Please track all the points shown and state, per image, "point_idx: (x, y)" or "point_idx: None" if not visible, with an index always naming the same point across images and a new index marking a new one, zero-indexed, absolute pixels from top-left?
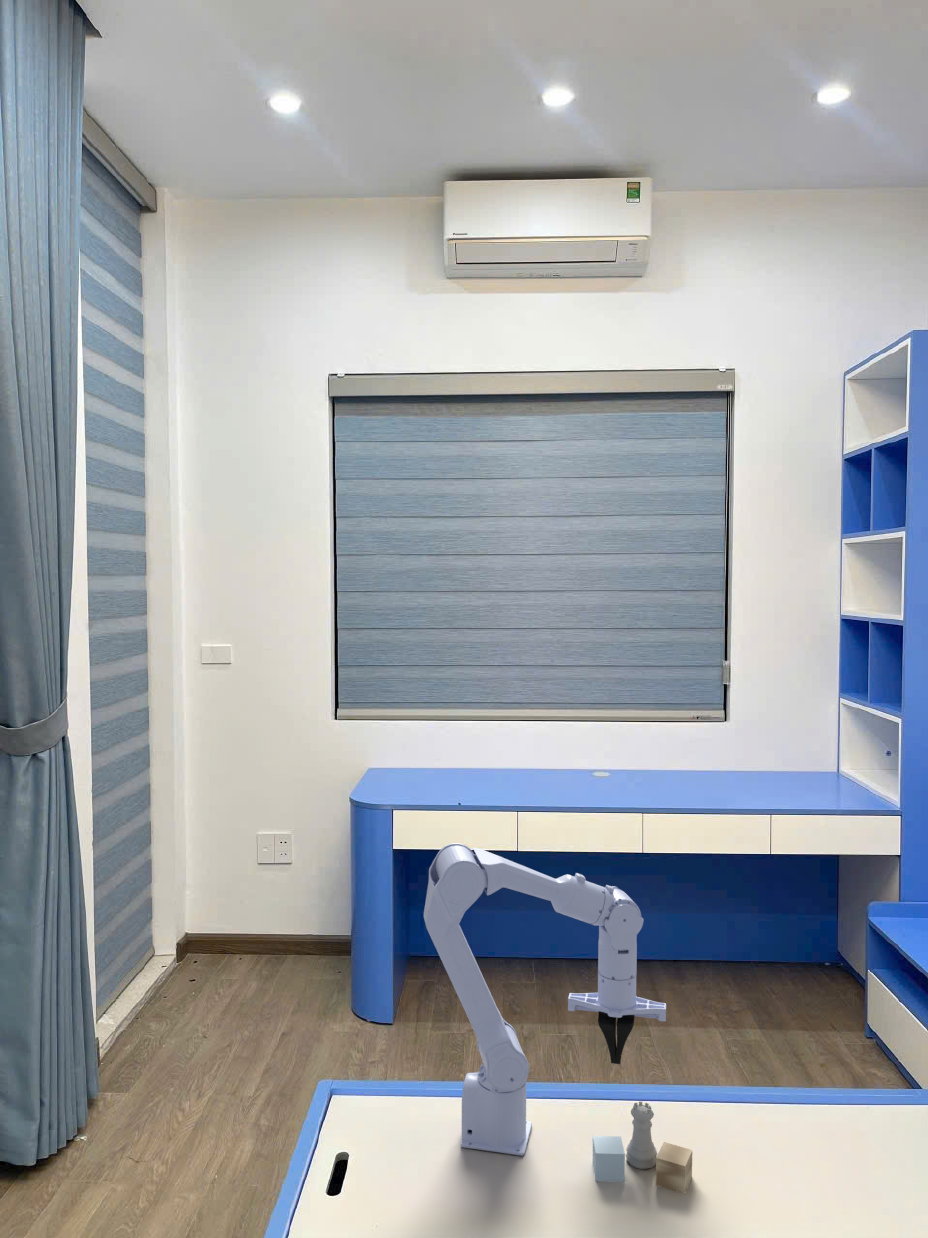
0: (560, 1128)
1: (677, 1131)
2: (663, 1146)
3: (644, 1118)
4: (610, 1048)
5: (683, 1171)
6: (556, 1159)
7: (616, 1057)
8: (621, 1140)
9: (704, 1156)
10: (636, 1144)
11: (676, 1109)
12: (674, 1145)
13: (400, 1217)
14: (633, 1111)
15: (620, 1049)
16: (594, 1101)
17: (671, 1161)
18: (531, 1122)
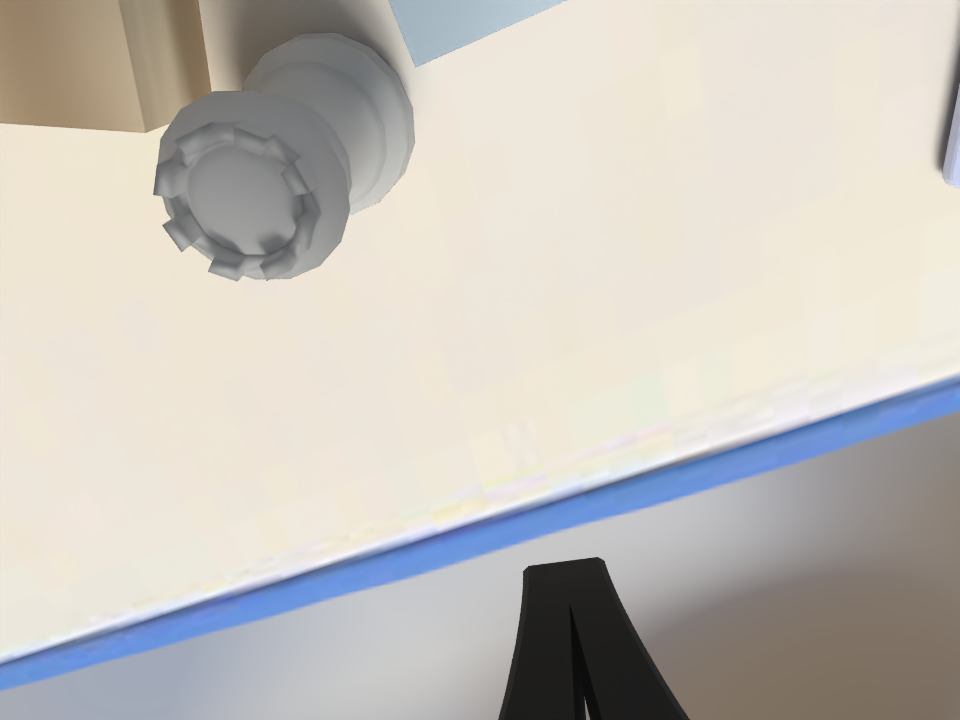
0: (781, 222)
1: (272, 402)
2: (120, 74)
3: (193, 106)
4: (642, 685)
5: None
6: None
7: (561, 611)
8: (399, 19)
9: (97, 286)
10: (320, 82)
11: (328, 520)
12: (70, 122)
13: None
14: (305, 153)
15: (529, 700)
16: (646, 458)
17: None
18: (954, 179)
